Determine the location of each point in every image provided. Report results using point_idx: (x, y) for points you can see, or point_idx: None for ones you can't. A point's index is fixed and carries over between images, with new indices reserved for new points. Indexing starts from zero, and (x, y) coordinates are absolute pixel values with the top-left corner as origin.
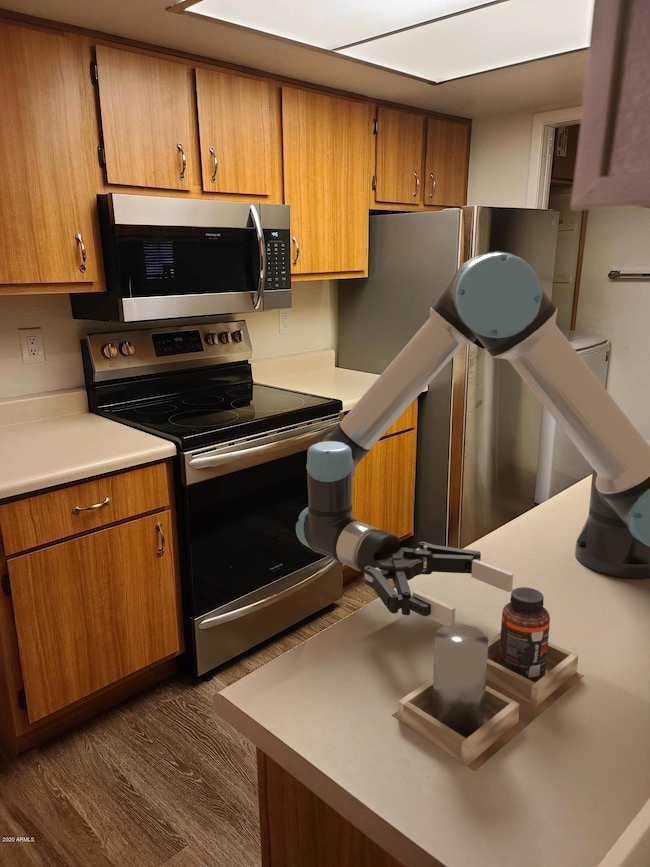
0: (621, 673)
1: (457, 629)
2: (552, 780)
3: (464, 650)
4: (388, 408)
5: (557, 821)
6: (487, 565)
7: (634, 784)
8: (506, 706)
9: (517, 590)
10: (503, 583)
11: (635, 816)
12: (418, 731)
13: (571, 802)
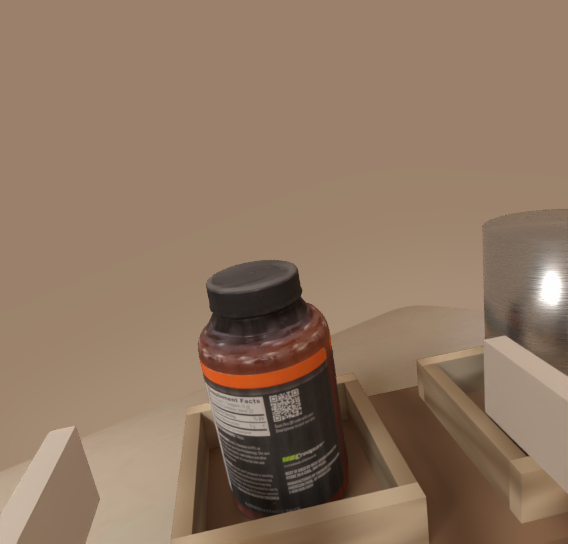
0: (115, 444)
1: (551, 234)
2: (431, 354)
3: (560, 212)
4: None
5: (464, 328)
6: (3, 542)
7: (338, 336)
8: (445, 361)
9: (256, 281)
10: (80, 497)
11: (375, 320)
12: None
13: (430, 336)
